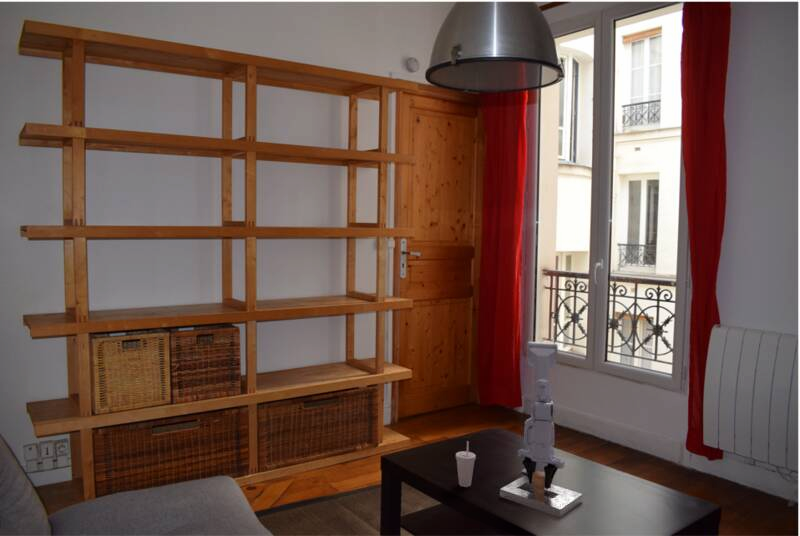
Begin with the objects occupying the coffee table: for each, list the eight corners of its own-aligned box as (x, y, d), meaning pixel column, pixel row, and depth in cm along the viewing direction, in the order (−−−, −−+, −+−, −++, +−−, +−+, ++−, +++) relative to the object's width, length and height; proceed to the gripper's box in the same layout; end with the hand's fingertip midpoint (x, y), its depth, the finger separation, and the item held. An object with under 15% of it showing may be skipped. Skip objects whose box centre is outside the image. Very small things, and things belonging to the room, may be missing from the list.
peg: (535, 492, 197) (536, 470, 196) (549, 496, 194) (551, 474, 193) (528, 497, 193) (529, 474, 192) (542, 502, 190) (544, 479, 189)
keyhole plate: (523, 482, 205) (523, 475, 204) (582, 501, 192) (582, 494, 191) (499, 496, 194) (500, 488, 194) (560, 517, 181) (560, 509, 181)
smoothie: (474, 489, 199) (475, 445, 198) (453, 487, 200) (454, 443, 199) (475, 481, 205) (477, 438, 204) (455, 479, 206) (457, 437, 205)
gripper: (513, 438, 194) (512, 482, 195) (557, 450, 184) (555, 496, 185) (525, 433, 199) (523, 475, 200) (568, 444, 189) (566, 489, 190)
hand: (539, 485), depth 193 cm, fingers closed on peg, 5 cm apart
